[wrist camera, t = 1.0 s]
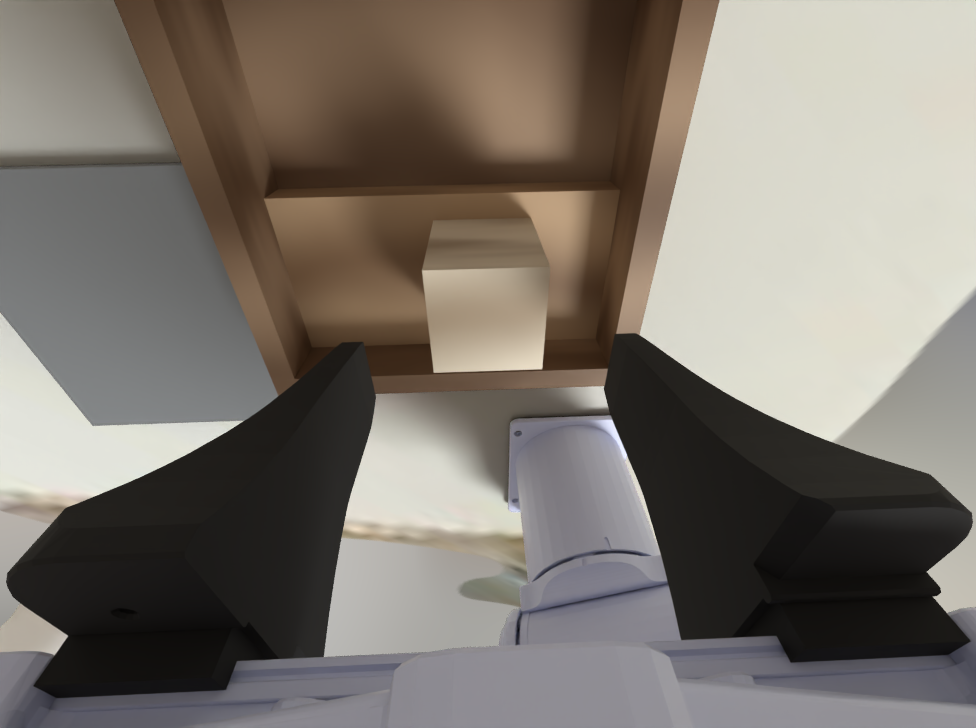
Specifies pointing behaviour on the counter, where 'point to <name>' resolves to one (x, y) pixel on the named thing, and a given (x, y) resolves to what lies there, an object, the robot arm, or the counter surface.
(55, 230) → the grey mat
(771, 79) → the counter surface
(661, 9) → the walnut crate
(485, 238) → the birch block
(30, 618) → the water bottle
